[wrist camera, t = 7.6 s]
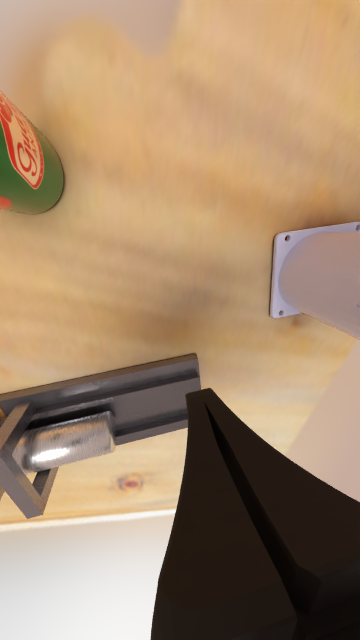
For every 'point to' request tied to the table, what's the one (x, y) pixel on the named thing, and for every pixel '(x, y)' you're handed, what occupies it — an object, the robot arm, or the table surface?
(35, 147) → the soda can
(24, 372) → the table surface
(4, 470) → the rail
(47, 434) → the tube
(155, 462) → the table surface
